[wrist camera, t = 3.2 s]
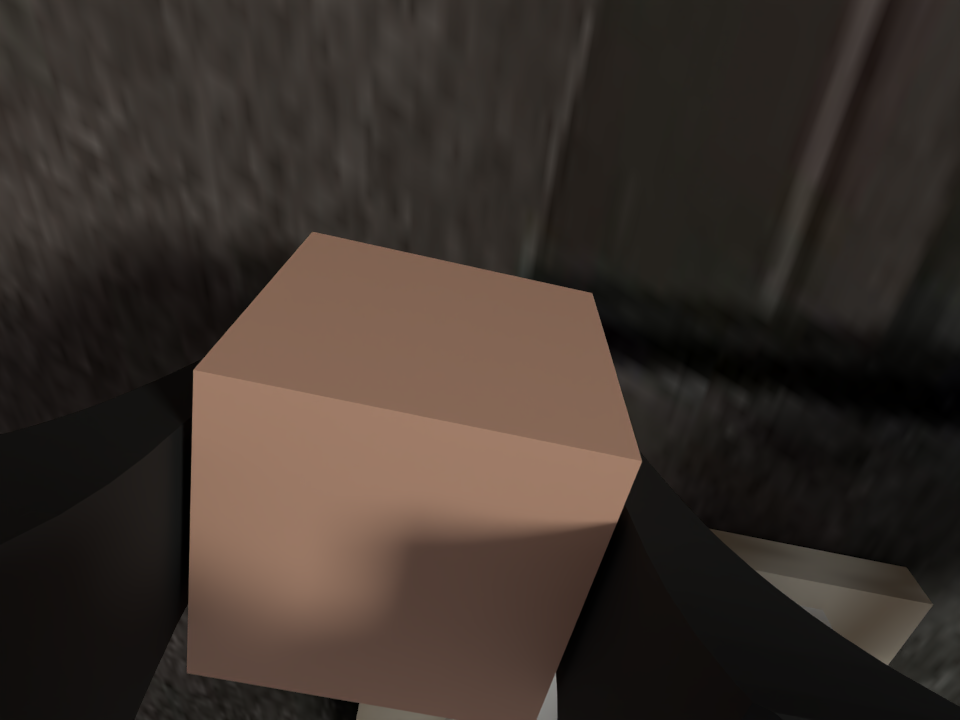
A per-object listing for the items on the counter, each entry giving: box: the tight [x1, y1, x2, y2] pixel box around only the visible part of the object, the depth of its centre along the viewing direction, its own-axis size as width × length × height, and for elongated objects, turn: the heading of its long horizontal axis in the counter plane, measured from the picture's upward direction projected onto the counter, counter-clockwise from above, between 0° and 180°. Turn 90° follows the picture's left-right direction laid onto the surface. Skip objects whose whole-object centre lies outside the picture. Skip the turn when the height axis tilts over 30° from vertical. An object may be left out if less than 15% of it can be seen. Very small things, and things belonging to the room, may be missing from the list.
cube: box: [187, 232, 642, 720], centre depth 11 cm, size 5×5×5 cm
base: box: [356, 529, 933, 720], centre depth 22 cm, size 16×12×4 cm
